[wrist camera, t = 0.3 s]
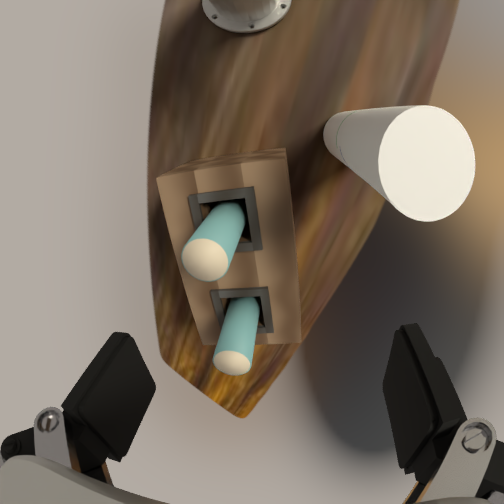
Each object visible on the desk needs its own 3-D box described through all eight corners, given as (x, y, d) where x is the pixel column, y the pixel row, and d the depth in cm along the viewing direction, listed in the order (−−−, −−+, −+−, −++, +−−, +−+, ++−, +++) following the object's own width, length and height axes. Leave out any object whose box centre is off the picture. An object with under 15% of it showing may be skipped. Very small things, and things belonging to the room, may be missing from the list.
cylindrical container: (334, 167, 38) (395, 236, 16) (315, 121, 36) (360, 123, 13) (378, 151, 36) (482, 202, 14) (361, 105, 34) (459, 95, 11)
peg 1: (212, 198, 33) (175, 240, 22) (245, 194, 32) (224, 235, 22) (218, 230, 35) (187, 282, 24) (250, 226, 34) (233, 280, 23)
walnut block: (219, 297, 50) (201, 347, 39) (190, 160, 40) (154, 178, 29) (299, 293, 48) (301, 345, 37) (285, 147, 38) (285, 159, 27)
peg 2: (229, 285, 38) (208, 350, 27) (259, 284, 37) (247, 350, 27) (234, 309, 40) (217, 375, 29) (263, 308, 39) (253, 375, 28)
